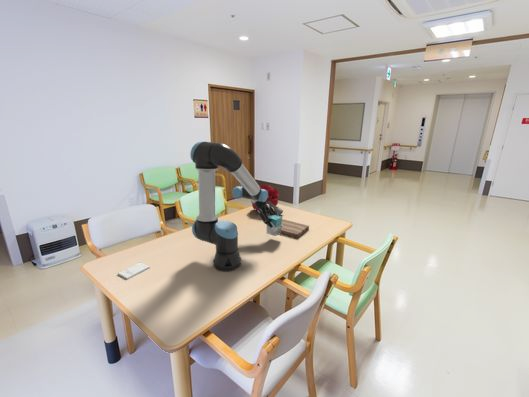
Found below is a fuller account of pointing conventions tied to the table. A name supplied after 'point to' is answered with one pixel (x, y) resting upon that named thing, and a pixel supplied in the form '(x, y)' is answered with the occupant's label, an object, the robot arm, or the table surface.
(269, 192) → the bouquet
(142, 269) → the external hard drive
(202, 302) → the table surface
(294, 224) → the walnut stand
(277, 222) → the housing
